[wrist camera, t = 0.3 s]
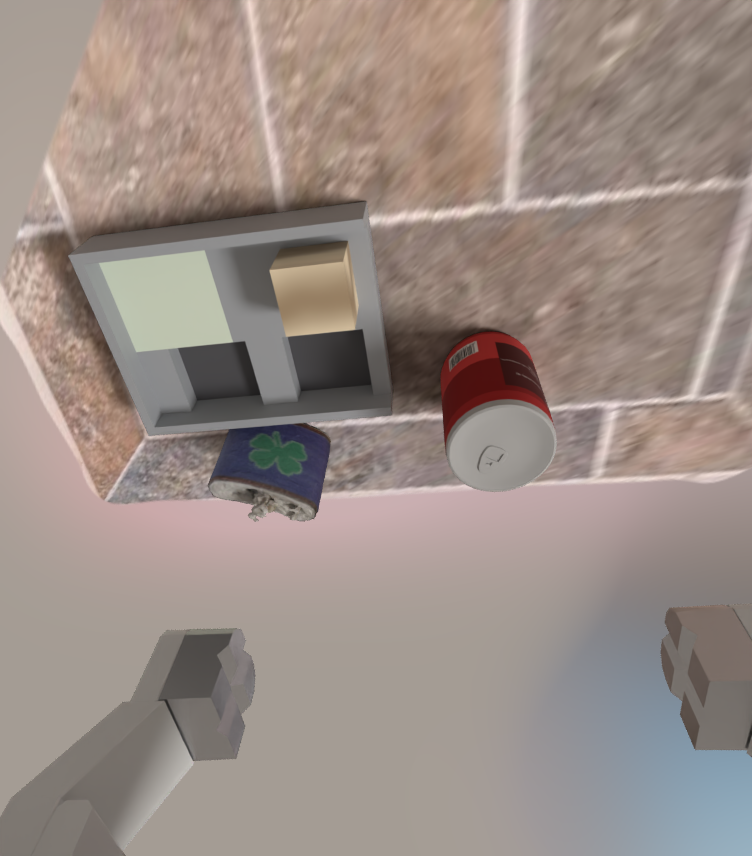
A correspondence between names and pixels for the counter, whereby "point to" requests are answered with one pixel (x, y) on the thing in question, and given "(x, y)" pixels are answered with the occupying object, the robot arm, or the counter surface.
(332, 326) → the maple block
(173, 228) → the grey compartment tray
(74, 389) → the counter surface
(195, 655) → the robot arm
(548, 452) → the canned food
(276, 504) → the flask
